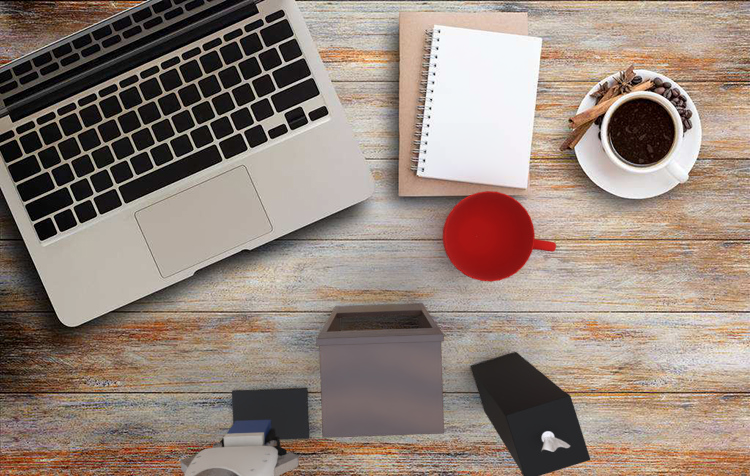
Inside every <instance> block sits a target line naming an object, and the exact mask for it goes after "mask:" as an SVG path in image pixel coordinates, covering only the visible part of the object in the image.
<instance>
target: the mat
mask: <svg viewBox="0 0 750 476" xmlns="http://www.w3.org/2000/svg"><path fill="white" fill-rule="evenodd" d="M308 398H309V397H308V387H297V388H296V387H295V388H294V387H293V388H267V389H265V388H263V389H238V390H237V389H236V390H232V391H231V400H232V401H231V402H232V403H231V404H232V425H233V424H234V422H235V421H246V420H271V429H275V430H276V437H280V441H283V440H284V441H285V440H309V438H310V425H309V399H308Z"/></svg>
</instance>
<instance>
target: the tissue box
mask: <svg viewBox="0 0 750 476" xmlns="http://www.w3.org/2000/svg"><path fill="white" fill-rule="evenodd" d="M469 367H470V371H471V373H472V377H473V381H474V383H475V386H476V389H477V393H478V395H479V399H480V402H481V405H482V408H483V411H484V414H485V415H486V417H487V418H488V420H489V421H490V423H491V425H492V426H493V428H494V430H495V432H496V433H497V435H498V437H499V438H500V439H501V441H502V443H503V445H504V446H505V448H506V449H507V451H508V452H509V454H510V456H511V458H512V459H513V461H514V462H515V464H516V466H517V467H518V469H519V471H520V472H521V475H522V476H544V475H547V474H550V473H553V472H557V471H560V470H563V469H566V468H569V467H573V466H576V465H580V464H582V463H585V462H588V461H591V457H590V453H589V450H588V447H587V443H586V440H585V437H584V434H583V430H582V428H581V427H582V426H581V424H580V421H579V419H578V415H577V413H576V409H575V405H574V402H573V399H572V396H571V395H570V394H569V393H568V392H566V391H565V390H563V389H562V388H561V387H559V386H558V385H557V384H556V383H555V382H553V381H552V380H551V379H550V378H549V377H548V376H546V375H545V374H544V373H542V372H541V371H540V370H539V369H538V368H536V367H535V366H534V365H533V364H532V363H531V362H529V361H528V360H527V359H526V358H525V357H523V356H522V355H521V354H519V353H518V351H514V352H510V353H507V354H504V355H501V356H497V357H495V358H491V359H488V360H485V361H482V362H478V363H475V364H472V365H470V366H469Z"/></svg>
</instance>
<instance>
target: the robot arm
mask: <svg viewBox="0 0 750 476" xmlns="http://www.w3.org/2000/svg"><path fill="white" fill-rule="evenodd" d="M299 461H300V460H299V454H296V453H293V452H290V451H287V449H286V448H284V447H281V440H280V437H276V430H275V429H271V430H270V431H269V433H268V435H267V437H266V439H265V445H264V446H241V447H224V437H223V438H222V439H221V440H220V442H218V441H217V442H214V443H213V444H212V447H208V448H204V449H202V450H201V451H199V452H198V453H197V454H196V455H191V456H189V457H185V458H182V459H181V460H180V471H181V472H182V473H183V474H184V476H281V475H283V474H285V473H288V472H289V471H291V470H293V469H295V468H297V467H299V465H300V464H299V463H300V462H299Z"/></svg>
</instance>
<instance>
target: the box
mask: <svg viewBox="0 0 750 476" xmlns="http://www.w3.org/2000/svg"><path fill="white" fill-rule="evenodd" d="M270 430H271V420H246V421H235V422H234V424H233V423H232V425H231V427H230V428H229V429H228V430H227V432H226V433H225V435H224V436H223V438H224V447H241V446H264V445H265V439H266V437H267V435H268V433H269V431H270Z"/></svg>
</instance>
